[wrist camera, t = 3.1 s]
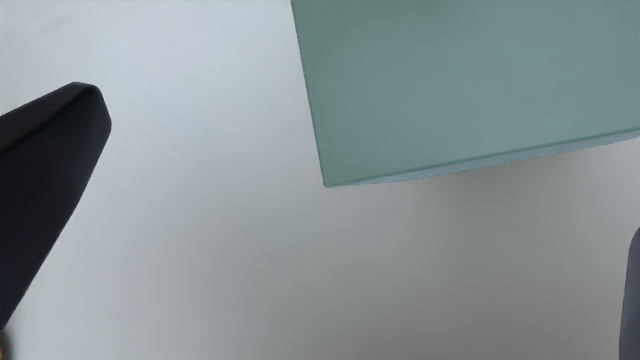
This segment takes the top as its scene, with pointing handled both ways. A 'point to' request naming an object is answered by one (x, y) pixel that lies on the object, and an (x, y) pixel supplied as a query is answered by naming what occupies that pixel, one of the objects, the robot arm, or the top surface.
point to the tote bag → (464, 82)
